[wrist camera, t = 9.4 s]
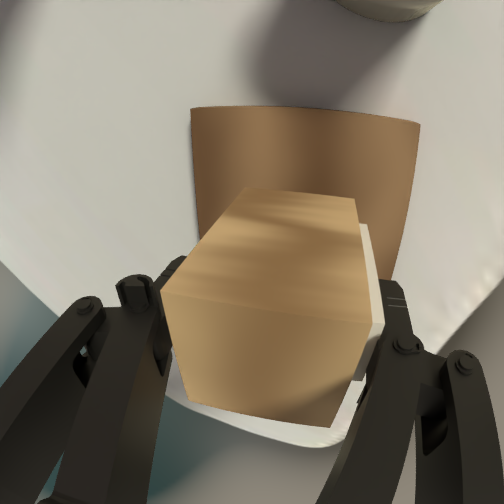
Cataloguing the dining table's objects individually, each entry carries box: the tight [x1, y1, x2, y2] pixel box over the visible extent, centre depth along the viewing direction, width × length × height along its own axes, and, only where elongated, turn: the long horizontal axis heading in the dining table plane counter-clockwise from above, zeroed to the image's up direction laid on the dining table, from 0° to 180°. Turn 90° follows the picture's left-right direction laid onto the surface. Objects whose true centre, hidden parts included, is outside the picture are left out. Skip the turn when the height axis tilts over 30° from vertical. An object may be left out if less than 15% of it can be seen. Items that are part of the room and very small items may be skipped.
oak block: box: [160, 187, 373, 428], centre depth 11 cm, size 5×5×8 cm
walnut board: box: [190, 106, 420, 280], centre depth 17 cm, size 12×12×1 cm
